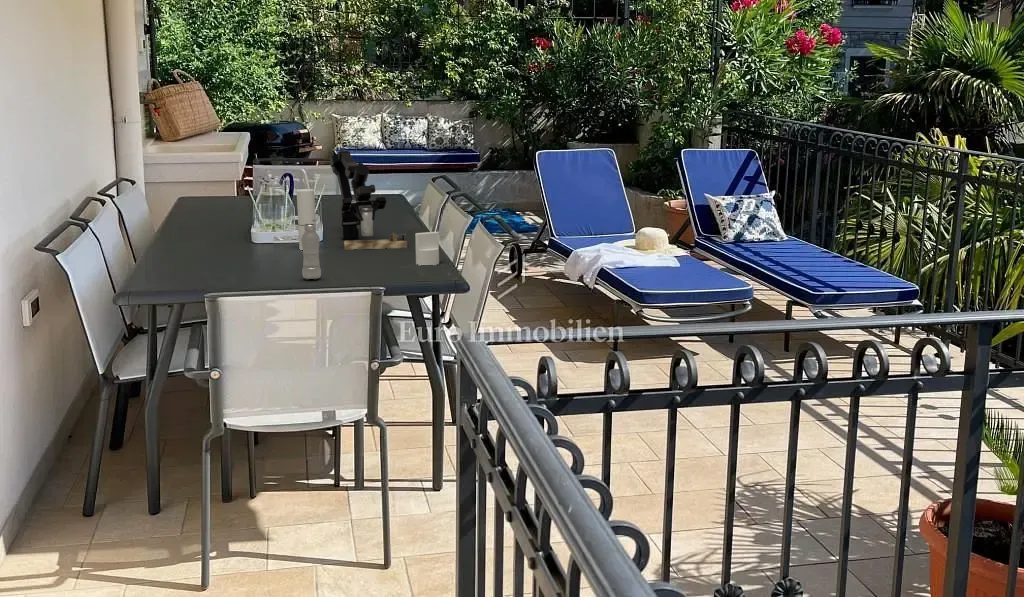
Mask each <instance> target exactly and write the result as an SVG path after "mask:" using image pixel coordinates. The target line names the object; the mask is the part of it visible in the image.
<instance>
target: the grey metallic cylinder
mask: <svg viewBox="0 0 1024 597" xmlns="http://www.w3.org/2000/svg"><path fill="white" fill-rule="evenodd" d="M359 210H360V213H361V216H362V221H361V223H360V226H361V227H360V228H361V237H372V236H374V226H373V225H374V223H373V222H374V220H373V212H372V211H373V207H371V206H360V207H359Z"/></svg>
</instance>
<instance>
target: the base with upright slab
mask: <svg viewBox="0 0 1024 597" xmlns="http://www.w3.org/2000/svg"><path fill="white" fill-rule="evenodd" d="M414 236H415V265H417V264H418V265H417V266H421V265H433V266H437V264H438V265H439V264H440V250H439V249H440V248H439V247H440V242H439V241H440V240H439V232H438V231H427V232H416V233H415V235H414Z"/></svg>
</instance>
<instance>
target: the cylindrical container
mask: <svg viewBox="0 0 1024 597" xmlns="http://www.w3.org/2000/svg"><path fill="white" fill-rule="evenodd" d="M296 204H297V205H296V206H297V208H296V209H297V225H298V226H297V227H298V228H297V229H298V247H299V249H300V250H303V248H302V242H301V238H302V236H303V234H304V232H305V230H304V225H305V224H315V232H316V233H317V221H316V198H315V189H311V188H302V189H297V190H296ZM300 250H299V251H300Z"/></svg>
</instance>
